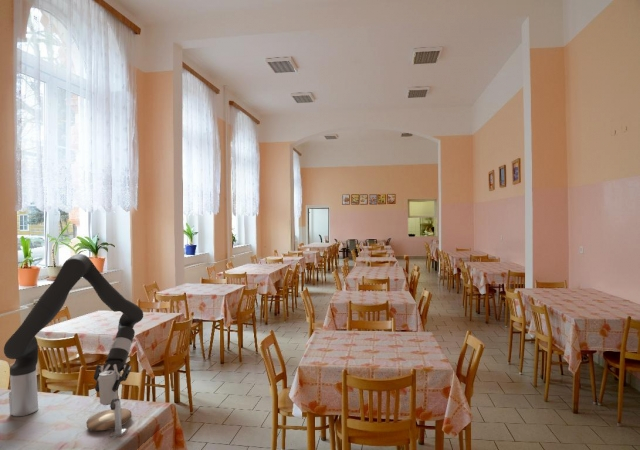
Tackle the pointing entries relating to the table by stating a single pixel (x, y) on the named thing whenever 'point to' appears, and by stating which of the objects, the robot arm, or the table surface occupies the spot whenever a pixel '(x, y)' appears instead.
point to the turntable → (107, 419)
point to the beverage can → (107, 387)
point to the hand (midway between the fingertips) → (105, 390)
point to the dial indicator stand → (117, 418)
